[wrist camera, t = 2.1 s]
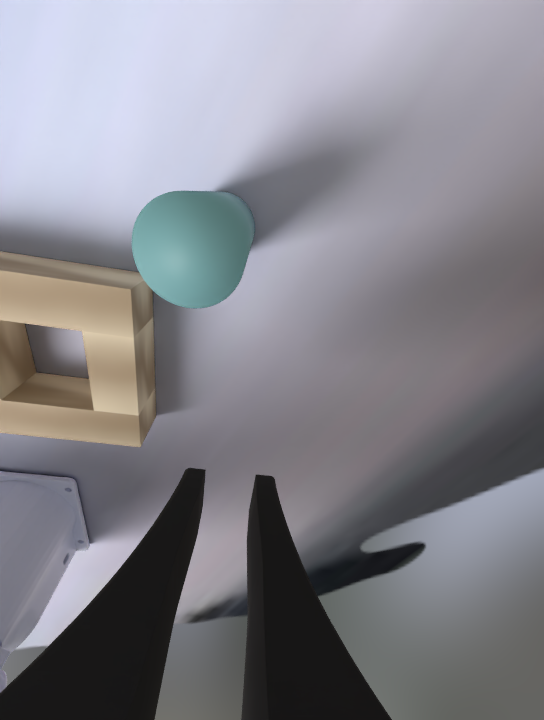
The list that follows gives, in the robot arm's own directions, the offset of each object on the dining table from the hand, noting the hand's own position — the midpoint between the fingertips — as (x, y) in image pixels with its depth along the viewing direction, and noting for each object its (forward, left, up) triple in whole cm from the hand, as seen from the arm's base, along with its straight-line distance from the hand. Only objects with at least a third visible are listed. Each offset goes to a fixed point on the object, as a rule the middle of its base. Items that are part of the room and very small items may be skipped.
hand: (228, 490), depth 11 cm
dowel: (+8, +2, -9) cm, 13 cm away
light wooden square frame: (0, +11, -9) cm, 14 cm away
